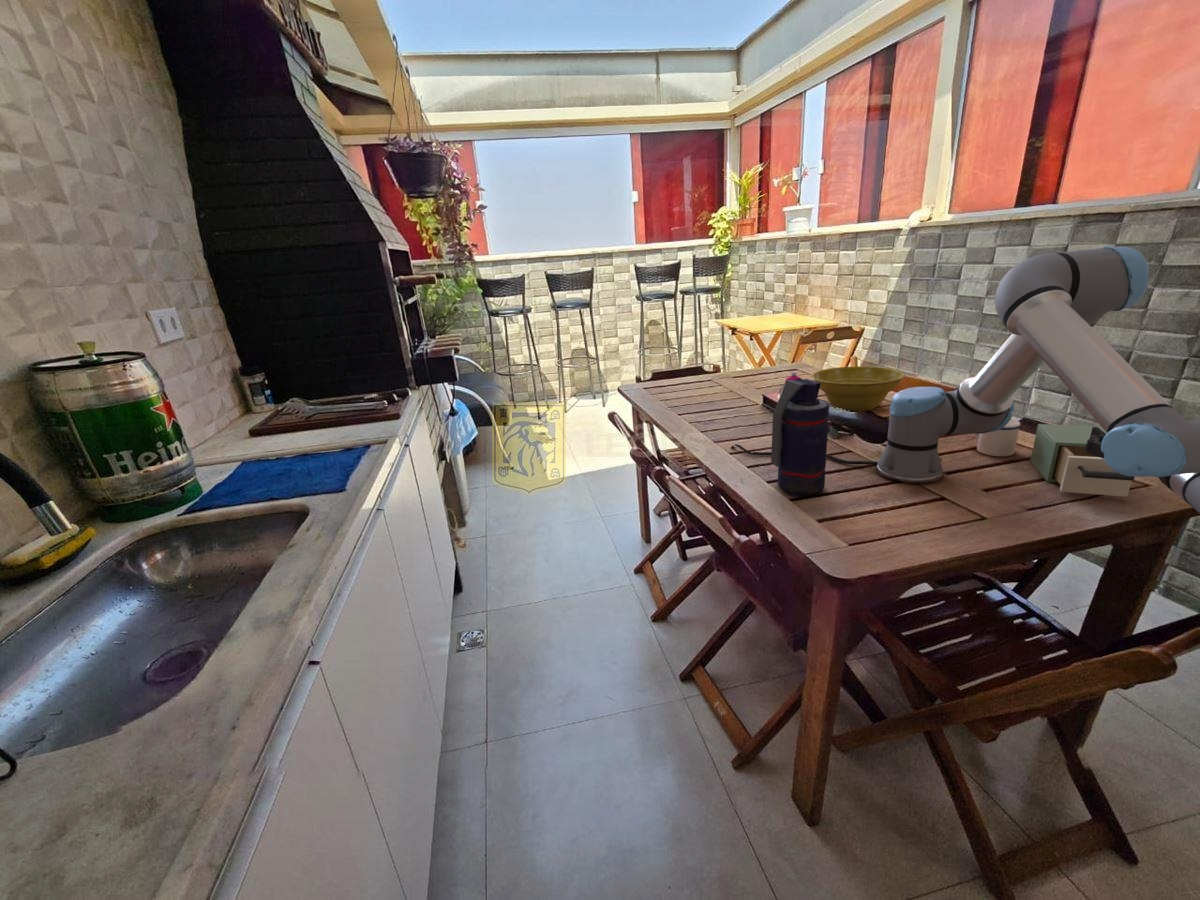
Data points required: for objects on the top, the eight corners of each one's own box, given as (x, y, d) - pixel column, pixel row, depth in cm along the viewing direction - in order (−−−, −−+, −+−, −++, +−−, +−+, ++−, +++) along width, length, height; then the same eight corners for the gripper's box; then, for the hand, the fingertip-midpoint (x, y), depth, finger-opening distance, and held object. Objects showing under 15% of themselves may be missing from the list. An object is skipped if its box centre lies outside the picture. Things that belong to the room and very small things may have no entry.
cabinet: (1115, 486, 117) (1127, 445, 113) (1046, 481, 122) (1056, 442, 119) (1091, 463, 129) (1101, 425, 125) (1030, 460, 134) (1038, 423, 131)
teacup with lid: (1023, 453, 139) (1031, 414, 135) (998, 459, 137) (1006, 420, 133) (982, 441, 150) (988, 404, 146) (958, 446, 148) (964, 409, 144)
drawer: (1137, 506, 106) (1148, 469, 103) (1068, 500, 112) (1077, 465, 108) (1102, 473, 121) (1111, 440, 118) (1043, 469, 127) (1050, 437, 124)
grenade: (808, 476, 140) (812, 373, 129) (833, 493, 129) (841, 381, 118) (763, 484, 138) (764, 380, 128) (785, 502, 127) (788, 389, 117)
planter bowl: (820, 394, 215) (822, 364, 211) (905, 399, 197) (909, 366, 192) (801, 415, 191) (802, 381, 187) (896, 422, 173) (900, 385, 168)
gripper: (1092, 491, 86) (1053, 448, 104) (1309, 508, 75) (1225, 457, 92) (1103, 451, 84) (1061, 414, 101) (1330, 463, 72) (1239, 419, 90)
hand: (1139, 434), depth 97 cm, fingers open, 13 cm apart
